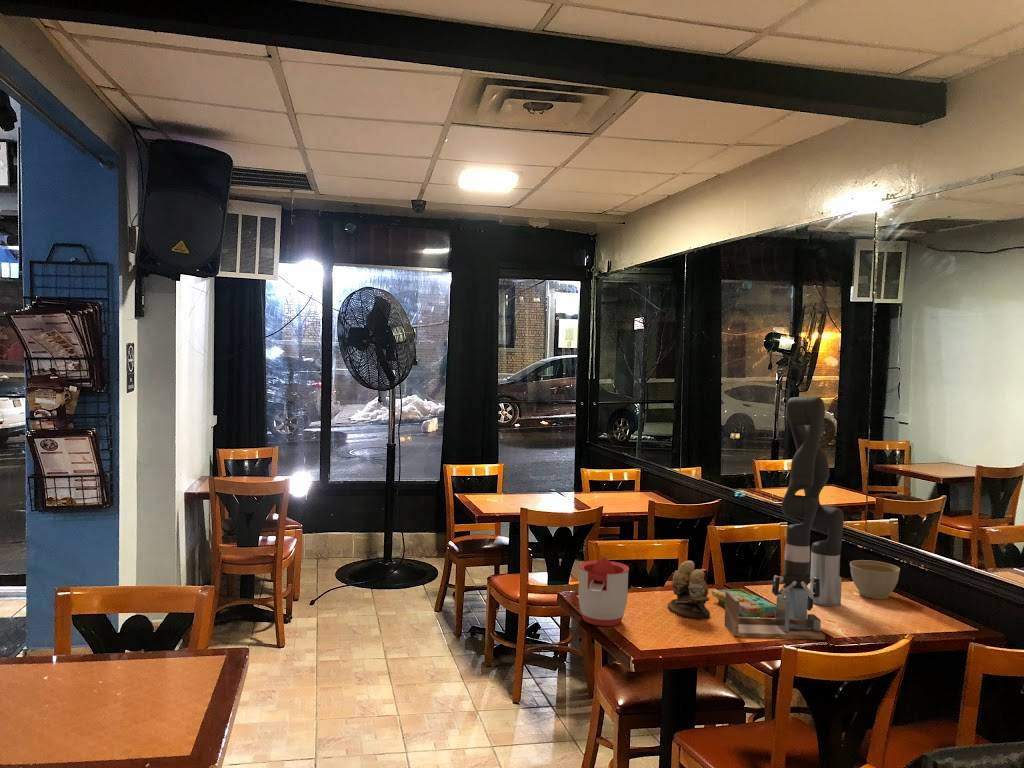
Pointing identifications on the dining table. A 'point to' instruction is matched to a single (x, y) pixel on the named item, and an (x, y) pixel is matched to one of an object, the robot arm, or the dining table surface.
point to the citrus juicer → (603, 591)
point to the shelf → (761, 624)
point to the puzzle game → (748, 603)
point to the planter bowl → (874, 578)
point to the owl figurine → (689, 592)
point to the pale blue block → (797, 603)
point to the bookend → (783, 617)
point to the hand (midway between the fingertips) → (795, 609)
